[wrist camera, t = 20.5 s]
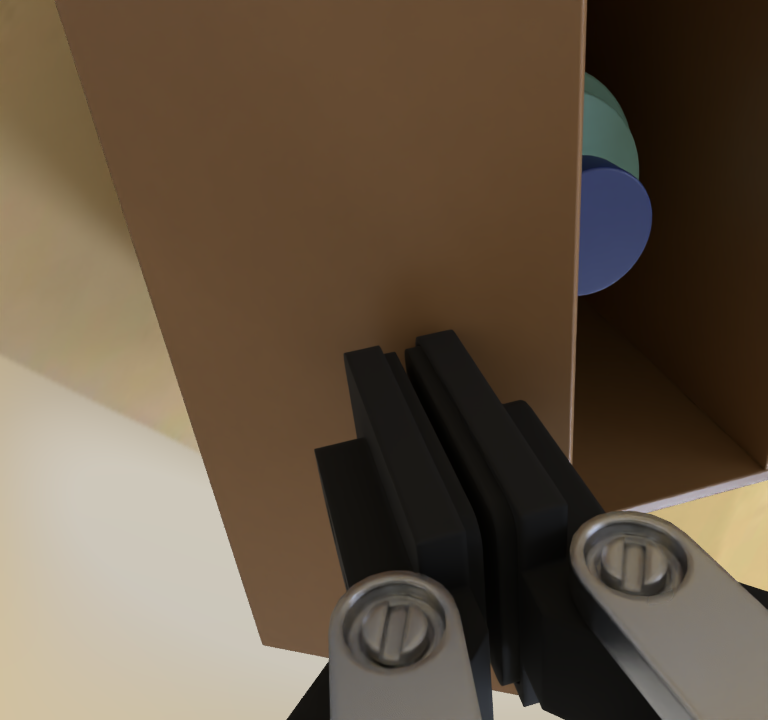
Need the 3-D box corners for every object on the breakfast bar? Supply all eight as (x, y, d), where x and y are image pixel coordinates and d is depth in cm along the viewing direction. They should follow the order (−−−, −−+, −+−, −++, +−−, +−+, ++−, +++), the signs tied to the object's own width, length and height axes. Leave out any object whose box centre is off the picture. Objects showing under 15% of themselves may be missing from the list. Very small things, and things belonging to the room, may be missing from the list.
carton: (226, 333, 30) (260, 619, 18) (111, -99, 22) (29, -112, 10) (547, 263, 31) (775, 478, 20) (550, -157, 24) (939, -229, 12)
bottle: (358, 203, 28) (467, 378, 17) (334, 32, 24) (451, 120, 14) (508, 174, 29) (698, 324, 18) (504, 4, 25) (733, 68, 15)
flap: (269, 631, 17) (261, 645, 17) (39, -111, 9) (17, -110, 9) (565, 687, 15) (563, 705, 15) (594, -197, 7) (591, -200, 7)
